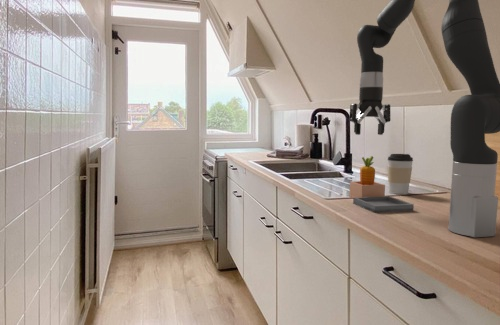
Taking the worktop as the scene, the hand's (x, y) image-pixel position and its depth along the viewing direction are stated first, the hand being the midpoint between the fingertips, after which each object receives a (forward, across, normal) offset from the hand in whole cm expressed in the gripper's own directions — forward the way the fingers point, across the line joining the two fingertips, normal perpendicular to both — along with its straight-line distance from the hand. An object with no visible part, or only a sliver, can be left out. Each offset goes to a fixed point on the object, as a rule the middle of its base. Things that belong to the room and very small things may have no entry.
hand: (369, 134), depth 132 cm
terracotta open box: (+22, 0, 0) cm, 22 cm away
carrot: (+23, 0, 0) cm, 23 cm away
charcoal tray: (+22, -2, -13) cm, 26 cm away
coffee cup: (+23, +18, +8) cm, 30 cm away
